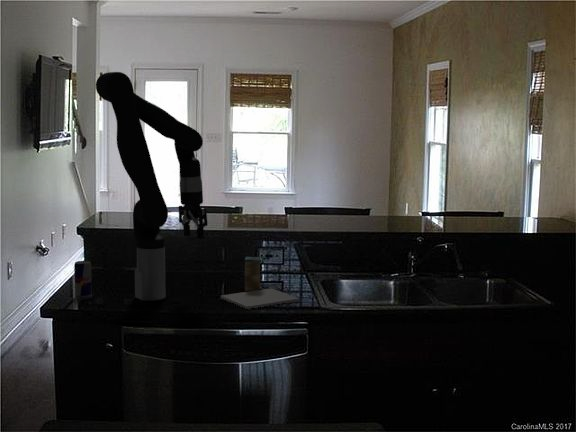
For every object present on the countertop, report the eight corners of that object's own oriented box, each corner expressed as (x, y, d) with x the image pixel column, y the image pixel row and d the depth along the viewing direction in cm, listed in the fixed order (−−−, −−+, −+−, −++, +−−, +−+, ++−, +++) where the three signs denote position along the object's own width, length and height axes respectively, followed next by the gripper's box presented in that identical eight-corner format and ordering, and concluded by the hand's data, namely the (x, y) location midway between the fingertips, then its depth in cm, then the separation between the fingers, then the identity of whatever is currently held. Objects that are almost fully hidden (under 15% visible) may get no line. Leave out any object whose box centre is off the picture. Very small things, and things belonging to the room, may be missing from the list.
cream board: (246, 309, 255) (246, 306, 254) (220, 298, 269) (220, 295, 268) (299, 301, 266) (299, 298, 265) (271, 291, 280) (271, 288, 279)
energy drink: (75, 300, 265) (74, 264, 263) (75, 296, 270) (74, 261, 268) (92, 299, 266) (91, 263, 265) (91, 295, 271) (90, 260, 270)
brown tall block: (244, 290, 280) (244, 259, 278) (245, 287, 285) (245, 256, 283) (259, 291, 280) (259, 259, 278) (259, 287, 285) (259, 257, 283)
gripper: (170, 189, 275) (173, 236, 278) (193, 192, 264) (195, 241, 267) (189, 187, 280) (192, 233, 282) (212, 190, 269) (214, 238, 271)
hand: (193, 237), depth 274 cm, fingers open, 8 cm apart
